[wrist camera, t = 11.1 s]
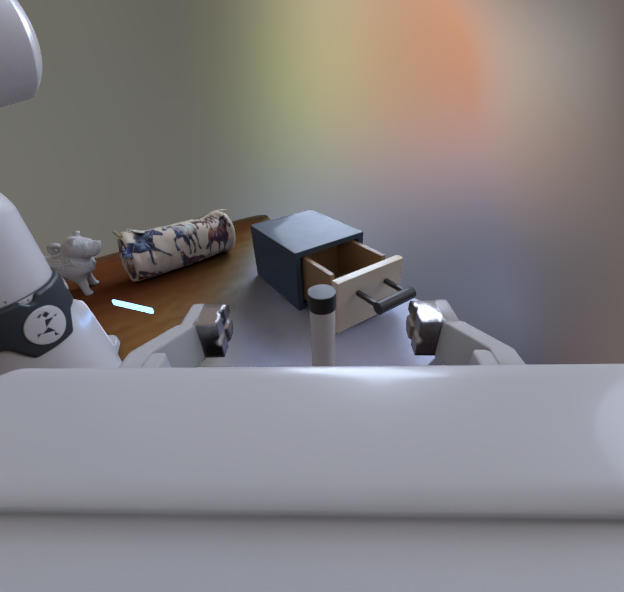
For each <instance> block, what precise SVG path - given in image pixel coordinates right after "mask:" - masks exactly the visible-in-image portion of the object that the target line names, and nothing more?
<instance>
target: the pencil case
mask: <svg viewBox="0 0 624 592" xmlns="http://www.w3.org/2000/svg"><path fill="white" fill-rule="evenodd" d="M223 211H227V209H219V210H214V211H212V212H211V213H209V214H206V215H205V216H202V217H200V218H198V219H192V220H189V221H184V222H179V223H176V224H172V225H168V226H163V227H158V228H154V229H149V230H145V231H138V230H131V229H126V230H125V232H121V233H120V235H119V234H118V233H117V231H114V230H112V232H113V233H114V234H115V235H116V236H117V237H119V238H118V241H117V242H118V247H119V254H120V258H121V262H122V264H123V266H124V268H125V270H126V272H127V273H128V275H129V277H130V278H131V280H132V281H134V282H136V281H137V282H139V281H141V280H144V279H149V278H152V277H154V276H158V275H161V274H164V273H167V272H169V271H171V270H175V269H178V268H181V267H184V266H187V265H190V264H193V263H195V262H199V261H201V260H203V259H206V258H208V257H211V256H214V255H216V254H218V253H222V252H227V251H230V250H232V249H233V247H234V245H235V229H234V226H233V224H232V222H231V220H230V218H229V217H228V215H226V214H225V213H223Z"/></svg>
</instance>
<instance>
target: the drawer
mask: <svg viewBox="0 0 624 592" xmlns="http://www.w3.org/2000/svg"><path fill="white" fill-rule="evenodd" d="M300 260H301V275H302V290H303V298H304V299H305V300H306V301H307V302H308V295H307V292H308V289H309V288H310V287H312V286H315V285H319V284H326V285H330V286H332V287H334V288H335V290H336V309H335V332H336V333H337V334H338V333H340V332H342V331H344V330H346V329H348V328H350V327H352V326H354V325H356V324H358V323H360V322H362V321H364V320H366V319H368V318H370V317H372V316H374V315H376V314H379V315H380V314H383V313H385V312H387V311H389V310H391V309H393V308H395V307H397V306H399V305H401V304H403V303H405V302H407V301H409V300H411V299H413V298H414V297H415V296H416V291H415V289H414V288H413V287H410V286H409V287H407V288H404V287H402V286H400V278H401V270H402V264H403V258H402V257H401V256H398V255H396V256H393V257H390V258H388V259H385V254H383V253H380V252H378V251H376V250H374V249H372V248H370V247H368V246H366V245H363V244H361V243H359V242H357V241H355V240H352V241H349V242H346V243H343V244H340V245H337V246H334V247H331V248H328V249H325V250H322V251H319V252H316V253H313V254H310V255H307V256H304V257H300Z"/></svg>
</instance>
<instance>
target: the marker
mask: <svg viewBox="0 0 624 592" xmlns="http://www.w3.org/2000/svg"><path fill="white" fill-rule="evenodd" d="M307 295H308V309H309V312H310V330H311V348H312V366H335V309H336V290H335V288H334V287H332V286H330V285H326V284H319V285H315V286H312V287H310V288H309V289H308V292H307Z"/></svg>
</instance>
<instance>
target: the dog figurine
mask: <svg viewBox="0 0 624 592" xmlns="http://www.w3.org/2000/svg"><path fill="white" fill-rule="evenodd" d="M79 233H80V231H74V232H73V233H72V234H71V235H70V236H69V237H67V238H66V239H65V241H64V242H63V244H62V245H60V244H57V243H51V244H49V245H48V246H47V251H48V252H49V253H50V254H51V256H48V257H44V258H45V259H46V261H47V263H48V265H49V266H51V267H54V268H55V269H56V270H57V271H58V273H59V274H60V276H61V277H63V279H64V280H70V281H72V282H75V283H77V284H78V285H79V287H80V288H81V290H82V291H83V293H84V294H85V296H86V295H91V294H93V293H94V292H93V291H92V290H90V288H89V284H91V285H96V284H98V283H99V281H98V280H96V279H95V277H94V276H93V274H92V272H93V271H94V270H95V267H96V261H95V260H94V258H93V256H96V255H97V254H98V253H99V252H100V250H101V241H100V240H95V241H93V240H91V239H90V238H84V237H81V236H80V234H79ZM55 249H57V250H58V251H56V250H55ZM87 280H88V281H89V284H88V281H87Z"/></svg>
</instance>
